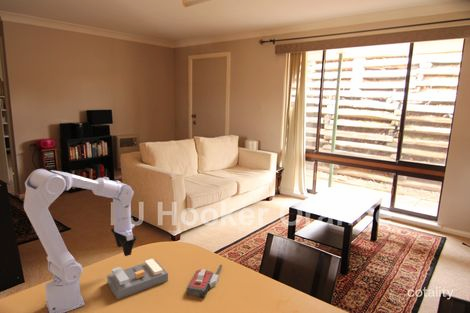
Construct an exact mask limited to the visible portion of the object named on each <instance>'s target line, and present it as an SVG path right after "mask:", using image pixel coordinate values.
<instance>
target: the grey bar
mask: <svg viewBox="0 0 470 313" xmlns="http://www.w3.org/2000/svg"><path fill="white" fill-rule="evenodd" d="M123 270H124V269H123V268H122V266H117V267H114V268H112V269H111V274H112V273H113V275H114V276H115V278H116V279H117V281H118V283H119V284H120V285H122V284H125V283H128V282H129V278H128V276H127V275H126V274H125V272H124V271H123Z"/></svg>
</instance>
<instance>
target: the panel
mask: <svg viewBox="0 0 470 313" xmlns="http://www.w3.org/2000/svg"><path fill="white" fill-rule="evenodd" d="M153 260H154V261H155V262H156V263H157V264H158V265H159V266H160V267H161V268H162V269H163V273H160V274H157V275H154V274H153V273H152V271H151V270H150V269H149V268H148V267H147V266H146V264H145V262H144V263H140V264H138V265H134V266H131V267H128V268H125V269H123V271H124V272H125V274H126V275H127V276H128V278H129V282H128V283H125V284H122V285H120V284H119V283H118V281H117V279H116V278H115V276H114V275H113V273H112V272H111V273H110V274H107V275H106V283H107V285H108V287H109V288H110V290H111V291H112V293H113V295H114V297H115V299H116V300H117V301H118V300H120V299H123V298H126V297H128V296H132V295H134V294H137V293H139V292H141V291H144V290H147V289H149V288H152V287H154V286H155V287H156V286H157V285H161V284H163V283H166V282H168V281H169V273H168V271H166V270H165V269H164V267H163V266H162V264H160V263H159V262H158V261H157V259H153ZM140 270H144V271H145V276H144V277H141V278H138V279H136V278H135V272H137V271H140Z"/></svg>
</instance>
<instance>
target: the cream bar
mask: <svg viewBox="0 0 470 313" xmlns="http://www.w3.org/2000/svg"><path fill="white" fill-rule="evenodd" d="M154 260H155V259H154V258H150V259H147V260H145V261H144V263H145V264H146V266H147V267H148V268H149V269H150V270H151V271H152V273H153V274H154V275H157V274H160V273H163V269H164V268H163V269H162V268H161V267H160V266H159V265H158V264H157V263H156V262H155V261H154Z"/></svg>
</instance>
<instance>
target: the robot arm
mask: <svg viewBox="0 0 470 313" xmlns="http://www.w3.org/2000/svg"><path fill="white" fill-rule="evenodd" d="M24 186H25V194H24V200H23V209H24V212H25V213H26V216H27V218H28V219H29V221H30V224H31V226H32V228H33V229H34V231H35V233H36V235H37V237H38V239H39V241H40V243H41V245H42V247H43V248H44V251H45V253H46V255H47V256H46V260H47V269H48V272H50V273H51V274H52V280H51V281H49V282H47V283H45V285H44V288H45V289H44V290H45V296H46V297H45V299H46V302H45V304H46V305H45V306H46V308H47V309H48V310H47V311H48V313H67V312H70V311H73V310H75V309H78V308H80V307H81V308H82V307H83V306H85V300H84V299H83V296H82V294H81V282H80V277H81V276H82V274H83V272H84V271H83V266H82V263H81V264H80V262H77V261H76V259H75V257H74V256H73V255H72V254H71V253H70V252H69V251H68V250H69V249H68V248H67V246H66V244H65V242H64V239H63V238H62V236H61V234H60V233H61V232H60V231H59V229H58V227H57V225H56V223H55V220H54V219H53V217H52V215H51V212H50V210H49V208H50V206H51V204H53V203H54V201H56V200H57V198H59V197H60V195H62V194H63V192H64V191H69V190H70V189H71V188H72V187H73V188H81V189H84V190H85V189H86V190H91V192H92V193H93V195H95V196H99V197H100V196H101V197H105V198H108V199H109V198H111V199H112V202H113V203H112V205H113V223H114V225H113V228H111V229H110V231H111V233H112V234H113V236H114V239H115V242H116V246H117V247H118V248H122V250H123V252H122V253H123V255H124V257H129V256H131V255H132V251H133V247H134V244H135V242H136V241H137V236H136V235H134V234H133V228H135V226H136V225H135V224H134V223H132V209H131V207H132V206H131V204H132V198H133V197H134V194H135V190H133V189H132V188H133V187H132V186H130V185H128V184H126V183H123V182H121V181H119V180H110V178H109V177H106V176H103V177H97V179H95V180H94V179H91V178H87V177H84V176H81V175H77V174H73V173H69V172H66V171H65V172H64V171H61V170H60V171H58V170H54V169H53V170H51V169H50V171H49V170H47V169H44V168H38V169H35V170H33V171H32V172H31V173H30V174H29V176H28V177H27V179H26V180H25V181H24Z"/></svg>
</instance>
